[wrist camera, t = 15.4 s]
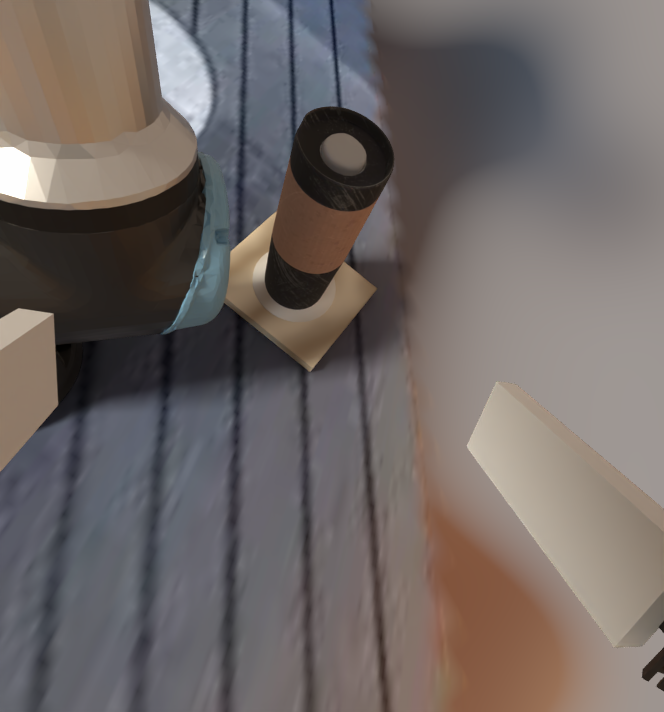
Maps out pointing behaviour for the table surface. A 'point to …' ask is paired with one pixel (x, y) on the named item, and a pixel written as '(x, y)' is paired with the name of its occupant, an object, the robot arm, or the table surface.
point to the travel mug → (324, 202)
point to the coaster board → (287, 326)
